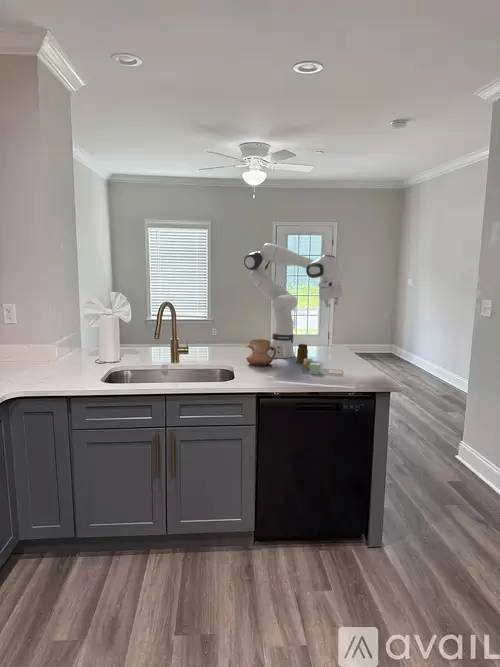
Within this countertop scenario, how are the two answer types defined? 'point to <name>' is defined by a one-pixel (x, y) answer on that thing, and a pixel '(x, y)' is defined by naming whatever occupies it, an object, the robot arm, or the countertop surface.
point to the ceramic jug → (260, 352)
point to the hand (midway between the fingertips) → (332, 305)
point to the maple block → (307, 363)
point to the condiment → (302, 353)
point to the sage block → (314, 368)
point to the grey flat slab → (325, 372)
